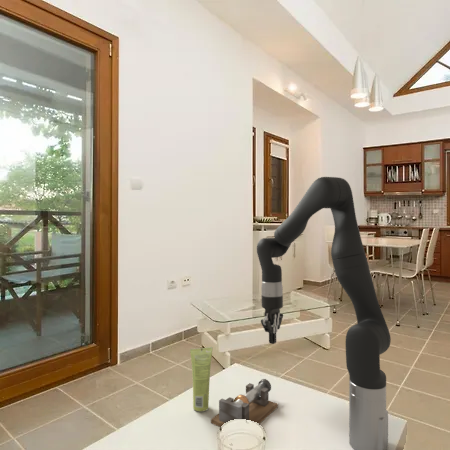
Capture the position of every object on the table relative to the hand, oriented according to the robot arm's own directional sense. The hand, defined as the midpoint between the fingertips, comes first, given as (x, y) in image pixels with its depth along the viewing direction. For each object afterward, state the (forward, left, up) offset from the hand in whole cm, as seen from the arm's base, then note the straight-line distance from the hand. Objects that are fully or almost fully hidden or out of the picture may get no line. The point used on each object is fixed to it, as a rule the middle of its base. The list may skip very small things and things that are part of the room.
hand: (272, 342), depth 125 cm
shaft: (0, +15, -16) cm, 21 cm away
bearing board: (0, +18, -18) cm, 25 cm away
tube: (+14, +23, -18) cm, 32 cm away
